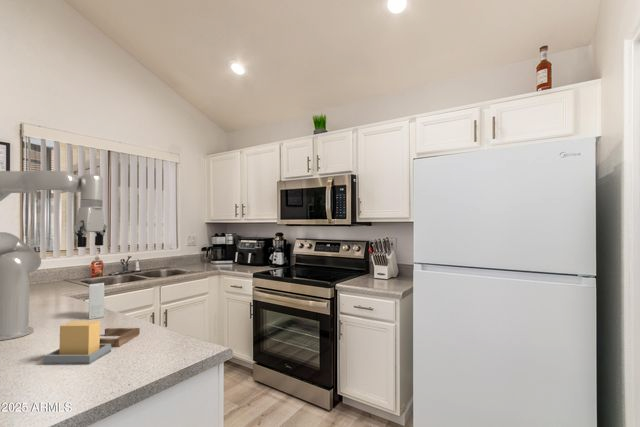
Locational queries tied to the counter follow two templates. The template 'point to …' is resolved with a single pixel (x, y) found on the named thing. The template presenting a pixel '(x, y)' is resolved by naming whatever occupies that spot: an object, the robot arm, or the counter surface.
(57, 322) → the counter surface
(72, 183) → the robot arm
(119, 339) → the walnut bay
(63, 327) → the yellow block
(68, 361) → the grey tray
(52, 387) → the counter surface
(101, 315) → the skincare box
